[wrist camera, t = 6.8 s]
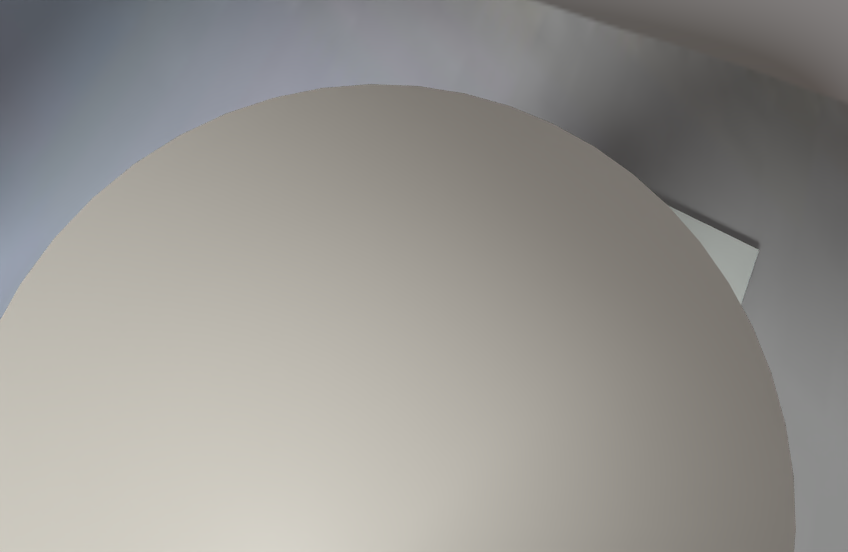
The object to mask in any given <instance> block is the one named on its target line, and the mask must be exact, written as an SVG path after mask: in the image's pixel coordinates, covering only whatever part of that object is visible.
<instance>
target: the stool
mask: <svg viewBox="0 0 848 552" xmlns="http://www.w3.org/2000/svg"><path fill="white" fill-rule="evenodd" d="M795 532H796V524H795V500H794V475H793V469H792V463H791V456H790V450H789V444H788V437H787V431H786V424H785V420H784V417H783V413H782V409H781V406H780V402H779V399H778V395H777V391H776V388H775V384H774V381H773V377H772V373H771V371H770V368H769V366H768V363H767V361H766V359H765V356H764V354H763V351H762V349H761V346H760V344H759V341H758V339H757V336H756V334H755V331H754V329H753V326H752V325H751V323H750V321H749V319H748V317H747V315H746V313H745V312H744V310H743V308H742V306H741V304H740V302H739V301H738V299H737V297H736V295H735V293H734V291H733V290H732V288H731V286H730V284H729V282H728V281H727V279H726V278H725V277H724V275H723V274H722V272H721V271H720V269H719V268H718V267H717V265H716V264H715V262H714V261H713V259H712V258H711V257H710V255H709V254H708V252H707V251H706V249H705V248H704V247H703V245H702V244H701V242H700V241H699V240H698V239H697V238H696V237H695V235H694V234H693V233H692V232H691V231H690V230H689V229H688V228H687V226H686V225H685V224H684V223H683V222H682V221H681V220H680V219H679V217H678V216H677V215H676V214H675V213H674V212H673V211H672V209H671V208H670V207H669V206H668V205H667V204H666V203H665V202H663V201H662V200H661V199H660V198H659V197H658V196H657V195H656V194H655V193H653V192H652V191H651V190H650V189H649V188H648V187H647V186H646V185H645V184H643V183H642V182H641V181H640V180H639V179H638V178H637V177H636V176H635V175H633V174H632V173H631V172H629V171H628V170H627V169H625V168H624V167H622V166H621V165H619V164H618V163H617V162H615V161H614V160H612V159H611V158H610V157H608V156H607V155H605V154H604V153H603V152H601V151H600V150H598V149H597V148H596V147H594V146H592V145H591V144H589V143H587V142H585V141H583V140H581V139H580V138H578V137H576V136H574V135H572V134H571V133H569V132H567V131H565V130H563V129H562V128H560V127H558V126H556V125H554V124H552V123H550V122H547V121H545V120H542V119H540V118H538V117H535V116H533V115H530V114H528V113H525V112H523V111H520V110H518V109H516V108H513V107H511V106H508V105H504V104H500V103H497V102H493V101H490V100H486V99H483V98H479V97H475V96H472V95H468V94H465V93H459V92H452V91H446V90H439V89H433V88H427V87H420V86H402V85H376V84H367V85H355V86H342V87H330V88H320V89H315V90H310V91H305V92H300V93H295V94H290V95H285V96H280V97H276V98H272V99H269V100H266V101H263V102H260V103H257V104H254V105H251V106H247V107H244V108H241V109H238V110H235V111H232V112H229V113H226V114H224V115H222V116H220V117H218V118H216V119H213V120H211V121H209V122H207V123H205V124H203V125H201V126H199V127H196V128H194V129H192V130H190V131H188V132H186V133H184V134H182V135H179V136H178V137H176V138H175V139H173V140H171V141H170V142H168V143H167V144H165V145H164V146H162V147H160V148H159V149H157V150H156V151H154V152H152V153H151V154H149V155H148V156H146V157H145V158H143V159H141V160H140V161H138V162H137V163H135V164H134V165H132V166H131V167H130V168H129V169H128V170H126V171H125V172H124V173H123V174H121V175H120V176H119V177H118V178H117V179H115V180H114V181H113V182H112V183H110V184H109V185H108V186H107V187H106V188H104V189H103V190H102V191H101V192H99V193H98V194H97V195H96V196H94V197H93V198H92V199H91V200H90V201H89V202H88V203H87V205H86V206H85V207H84V208H83V209H82V210H81V211H80V212H79V213H78V214H77V215H76V216H75V217H74V218H73V219H72V220H71V221H70V222H69V223H68V224H67V225H66V226H65V228H64V229H63V230H62V231H61V232H60V233H59V234H58V235H57V236H56V237H55V238H54V239H53V241H52V242H51V244H50V245H49V246H48V248H47V249H46V250H45V252H44V253H43V254H42V256H41V257H40V258H39V260H38V261H37V262H36V264H35V265H34V266H33V268H32V269H31V270H30V272H29V273H28V274H27V276H26V277H25V278H24V280H23V281H22V283H21V284H20V286H19V288H18V289H17V291H16V293H15V295H14V297H13V298H12V300H11V302H10V304H9V305H8V307H7V309H6V311H5V313H4V314H3V316H2V318H1V320H0V552H794V545H795Z"/></svg>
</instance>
